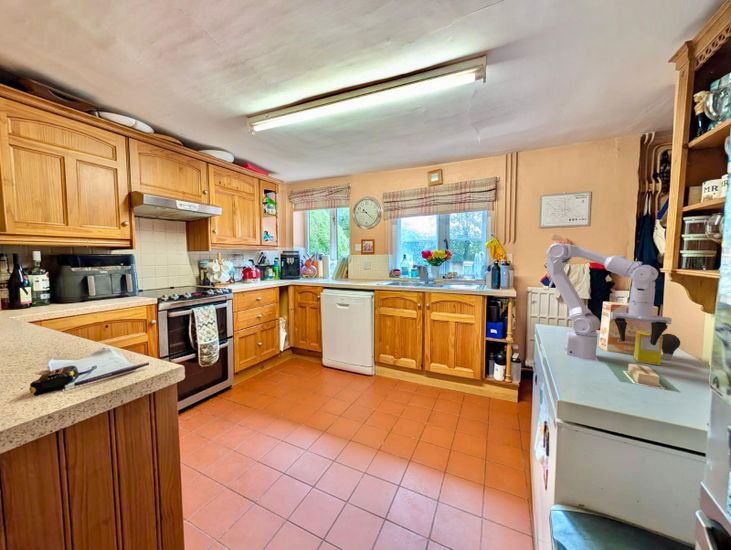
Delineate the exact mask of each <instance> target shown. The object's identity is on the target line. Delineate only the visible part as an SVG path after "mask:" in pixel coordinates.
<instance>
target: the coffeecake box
mask: <svg viewBox="0 0 731 550" xmlns="http://www.w3.org/2000/svg"><path fill="white" fill-rule="evenodd" d="M629 303H630V302H629ZM629 303H628V302H616V301H615V302H614V301H603V302H602V309H601V310H602V311H601V320H600V331H599V339H598V340H599V342H598V348H599V347H600V348H599V349H600V350H602V349H603V350H602V351H603V352H611V353H618V354H625V355H633V356H634V352H635V341H636V331H644V332H652V328H651V323H652V322H644V321H634V320H626V322H627V326H626V331H625V341H621V340H620V334H619V330H618V328H617V325H616V323H615V321H614V319H612V318H611V312H616V313H629ZM658 312H659V307H658V306H655V305H653V314H652V316H658V315H659V314H658ZM633 319H637V318H633ZM642 320H645V319H642Z"/></svg>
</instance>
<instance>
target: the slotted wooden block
mask: <svg viewBox="0 0 731 550" xmlns="http://www.w3.org/2000/svg"><path fill="white" fill-rule="evenodd" d="M628 373H629V374H630V375H631V377H632V378H633V379H634V380H635V381H636V382H637V383H638V384H644V385H650V386H655V387H659V379H660V377H659V376H658V375H657V374H656V373H655V372H653V371H652V370H651V368H650V367H649V366H646V365H640V364H635V363H628Z"/></svg>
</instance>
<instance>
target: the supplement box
mask: <svg viewBox="0 0 731 550" xmlns="http://www.w3.org/2000/svg"><path fill="white" fill-rule="evenodd" d="M650 339H651V332H644V331H636V341H635V352H634V355H633V358H634V360H635V361H636V363H638V364H639V363H640V364H646V365H651V366H652V365H653V366H658V367H660V366H661V362H662V361H661V359H662V353H663V352H662V341H663V336H660V337H659V339H658V341H657V343H656V345H652V344H650Z"/></svg>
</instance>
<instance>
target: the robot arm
mask: <svg viewBox="0 0 731 550" xmlns="http://www.w3.org/2000/svg"><path fill="white" fill-rule="evenodd" d="M545 256H546V272H547V274H548V275H549V277H550V278H551V281H552V282H553V283H554V285H555V288H556V289H557V291H558V293H559V295H560V297H561V298H562V300H563V301H564V304H565V305H566V307H567V308H568V310H569V319H570V321H571V327H572V329H573V330H572V331H566V333H565V340H564V341H565V343H564V352H565V355H566V357H571V358H578V359H583V360H584V359H585V360H589V361H597V362H599V361H600V360H599V359H598V357H597V348H598V347H597V346H598V337H599V336H598V335H599V334H598V333H597V330H599V328H601V320H600V319H599V318H598V316H596V315H594V314H593V312H592V310H591V309H589V308H588V307H587V306H586V305H585V304H584V302H583V300H582V298H581V297H580V294H579V293H578V291H577V290H576V288H575V286H574V285H573V283H572V281H571V280H570V278H569V276H568V275H567V273H566V271H565V267H566V265H567V264H568V262H569V261H570V260H572V258H581V259H585V260H587V261H589V262H590V261H591V262H594V263H597V264H599V265H603V266H604V268H605V270H606V271H609V272H611V273H614V274H617V275H619V276H620V277H621V276H622V277H624V278H628V279H629V278H630V280H631V287H630V293H629V294H630V296H629V313H616V312H611V318H612V319H614V321H615V323H616V325H617V328H618V330H619V334H620V340H621V341H625V331H626V326H627V322H626V320H634V321H644V322H652V323H651V328H652V332H651V339H650V344H652V345H656V343H657V341H658V339H659V337H660V336H661V335H663V334H664V332H665V331H667V329H668V326H669V325H672V319H673V318H671V317H668V316H667V317H666V316H659V315H657V316H652V314H653V306H654V302H655V294H656V288H655V287H656V279H657V278H658V276H659V271H658V270H657V269H656V268H655V267H654V266H651V265H650V264H643V262H642V261H639V260H638V261H634V260H632V259H629V258H626V256H625V255H622V254H620V255H617V254H616V255H615V254H614V255H611V256H607V255H604V254H602V253H599V252H597V251H594V250H591V249H589V248H586V247H583V246H579V245H573V244H570V243H561V242H555V243H552V244H551V245H550V246H549V247H548V249H547V250H546V253H545ZM642 264H643V265H642ZM633 318H637V319H633ZM642 319H645V320H642Z"/></svg>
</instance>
